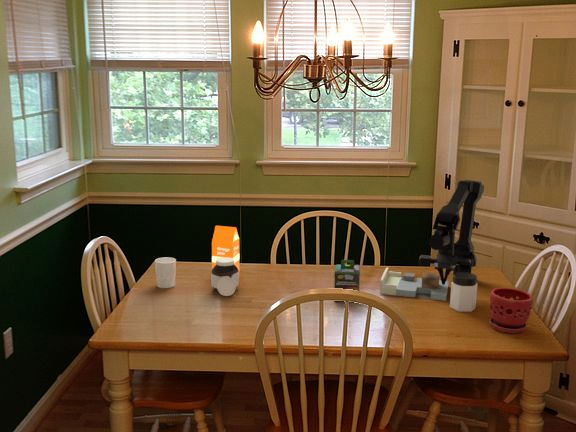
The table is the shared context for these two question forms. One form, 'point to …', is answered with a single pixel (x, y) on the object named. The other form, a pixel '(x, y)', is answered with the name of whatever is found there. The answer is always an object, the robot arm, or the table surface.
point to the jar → (463, 292)
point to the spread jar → (225, 276)
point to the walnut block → (430, 280)
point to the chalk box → (347, 275)
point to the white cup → (165, 272)
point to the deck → (410, 287)
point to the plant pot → (510, 309)
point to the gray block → (409, 277)
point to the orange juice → (225, 244)
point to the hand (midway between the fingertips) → (443, 284)
